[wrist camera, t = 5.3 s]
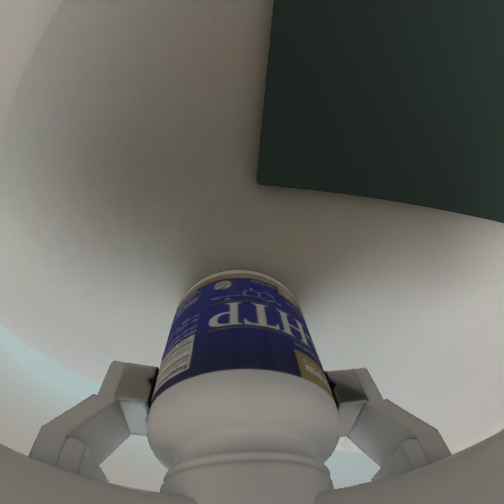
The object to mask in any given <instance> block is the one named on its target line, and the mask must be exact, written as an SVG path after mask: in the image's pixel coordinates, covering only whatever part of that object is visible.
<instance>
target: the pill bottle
mask: <svg viewBox="0 0 504 504" xmlns="http://www.w3.org/2000/svg"><path fill="white" fill-rule="evenodd" d="M340 427H341V426H340V418H339V414H338V410H337V407H336V403H335V400H334V398H333V395H332V392H331V389H330V387H329V384H328V381H327V379H326V376H325V373H324V370H323V367H322V365H321V362H320V360H319V357H318V354H317V352H316V349H315V346H314V344H313V341H312V339H311V336H310V334H309V331H308V328H307V326H306V323H305V320H304V318H303V315H302V312H301V310H300V307H299V305H298V303H297V301H296V299H295V298H294V296H293V295H292V294H291V292H290V291H289V290H288V289H287V288H286V287H285V286H283V285H282V284H281V283H280V282H278V281H277V280H275V279H273V278H272V277H270V276H267V275H265V274H262V273H259V272H255V271H249V270H229V271H223V272H219V273H216V274H213V275H210V276H208V277H206V278H204V279H202V280H201V281H199V282H198V283H196V284H195V285H194V286H192V287H191V288H190V289H189V290H188V291H187V293H186V294H185V295H184V297H183V298H182V299H181V301H180V303H179V305H178V308H177V311H176V314H175V317H174V320H173V323H172V326H171V330H170V333H169V337H168V340H167V344H166V347H165V351H164V354H163V357H162V362H161V366H160V369H159V373H158V376H157V380H156V385H155V389H154V392H153V397H152V401H151V405H150V409H149V415H148V421H147V437H148V441H149V444H150V447H151V449H152V451H153V453H154V454H155V456H156V458H157V459H158V460H159V461H160V462H161V464H162V465H163V466H164V467H166V468H167V469H168V470H169V471H168V472H167V473H166V475H165V477H164V483H163V484H162V486H161V489H160V492H161V493H168V494H177V495H185V496H188V497H191V498H192V499H194V500H195V501H196V502H197V503H198V504H313V501H314V498H315V496H316V495H318V494H319V493H320V492H322V491H327V490H333V489H334V487H333V483H332V480H331V478H330V472H329V470H328V468H327V467H326V466H325V465H324V463H325V462H326V461H327V459H328V458H329V457H330V456H331V454H332V453H333V451H334V449H335V447H336V445H337V443H338V440H339V437H340Z"/></svg>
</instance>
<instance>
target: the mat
mask: <svg viewBox="0 0 504 504" xmlns="http://www.w3.org/2000/svg"><path fill="white" fill-rule="evenodd" d="M257 183H258V184H259V185H268V186H279V187H290V188H299V189H309V190H317V191H326V192H334V193H342V194H349V195H357V196H364V197H371V198H377V199H384V200H390V201H397V202H403V203H409V204H414V205H420V206H426V207H431V208H436V209H442V210H447V211H452V212H457V213H462V214H466V215H471V216H476V217H480V218H485V219H489V220H493V221H498V222H502V223H504V0H274V4H273V15H272V25H271V35H270V46H269V56H268V67H267V77H266V87H265V98H264V109H263V119H262V130H261V140H260V151H259V162H258V172H257Z"/></svg>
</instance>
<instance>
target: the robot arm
mask: <svg viewBox="0 0 504 504" xmlns="http://www.w3.org/2000/svg"><path fill="white" fill-rule="evenodd" d="M158 373H159V368H158V367H154V366H147V365H140V364H133V363H125V362H119V361H113V362H112V363H111V365H110V367H109V369H108V371H107V374H106V376H105V378H104V381H103V383H102V386H101V388H100V390H99V393H98V395H95V394H93V395H91V396H90V397H88V398H87V399H85V400H84V401H82V402H81V403H79V404H77V405H76V406H74V407H72V408H71V409H69V410H68V411H66V412H64V413H63V414H61V415H60V416H58V417H56V418H55V419H53V420H52V421H50V422H48V423H47V424H45V425H43V426H42V427H41V429H40V432H39V433H38V436H37V438H36V440H35V442H34V444H33V447H32V449H31V451H30V454H29V456H26V455H24V454H21V453H19V452H17V451H15V450H12V449H10V448H8V447H6V446H4V445H2V444H0V504H198V503H197V502H196V501H195V500H194V499H192V498H191V497H188V496H185V495H177V494H168V493H161V492H154V491H147V490H141V489H135V488H130V487H125V486H121V485H116V484H111V483H109V481H108V479H107V478H106V476H105V474H104V473H103V471H102V470H101V468H100V467H99V465H100V464H101V463H102V462H103V461H104V460H105V459H106V458H107V457H108V456H109V455H110V454H111V453H112V452H113V451H114V450H116V448H118V447H119V446H120V445H121V444H122V443H123V442H124V441H125V440H126V439H127V438H128V437H129V436H130V434H134V435H142V436H147V421H148V415H149V409H150V405H151V401H152V397H153V392H154V389H155V385H156V380H157V376H158ZM324 373H325V376H326V379H327V381H328V384H329V387H330V389H331V392H332V395H333V398H334V400H335V403H336V407H337V410H338V414H339V418H340V426H341V427H340V437H344V436H348V438H349V439H350V440H351V441H352V442H353V443H354V444H355V445H356V446H357V447H359V448H360V449H361V450H362V451H363V452H364V453H365V454H366V455H368V456H369V457H370V458H371V459H372V460H373V461H374V462H375V463H377V464H378V465H379V466H380V467H381V468H380V470H379V471H378V472H377V473H376V474H375V475H374V477H373V478H372V479H371V481H372V482H368V483H364V484H359V485H355V486H350V487H344V488H339V489H333V490H327V491H322V492H320V493H319V494H318V495H316V496H315V498H314V501H313V504H504V430H502V431H500V432H498V433H496V434H495V435H493V436H491V437H489V438H487V439H485V440H483V441H481V442H479V443H477V444H475V445H473V446H471V447H469V448H466V449H464V450H462V451H460V452H458V453H455V454H453V455H452V454H451V453H450V451H449V449H448V447H447V446H446V444H445V442H444V440H443V439H442V437H441V435H440V433H439V432H438V430H437V429H436V428H434V427H432V426H431V425H429V424H427V423H425V422H424V421H422V420H420V419H419V418H417V417H415V416H414V415H412V414H410V413H409V412H407V411H405V410H404V409H402V408H400V407H399V406H397V405H396V404H394V403H392V402H391V401H389V400H388V399H385V400H383V398H382V396H381V394H380V392H379V391H378V389H377V387H376V385H375V383H374V381H373V379H372V378H371V376H370V374H369V372H368V370H367V369H366V368H358V369H351V370H350V369H348V370H335V371H324Z"/></svg>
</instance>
